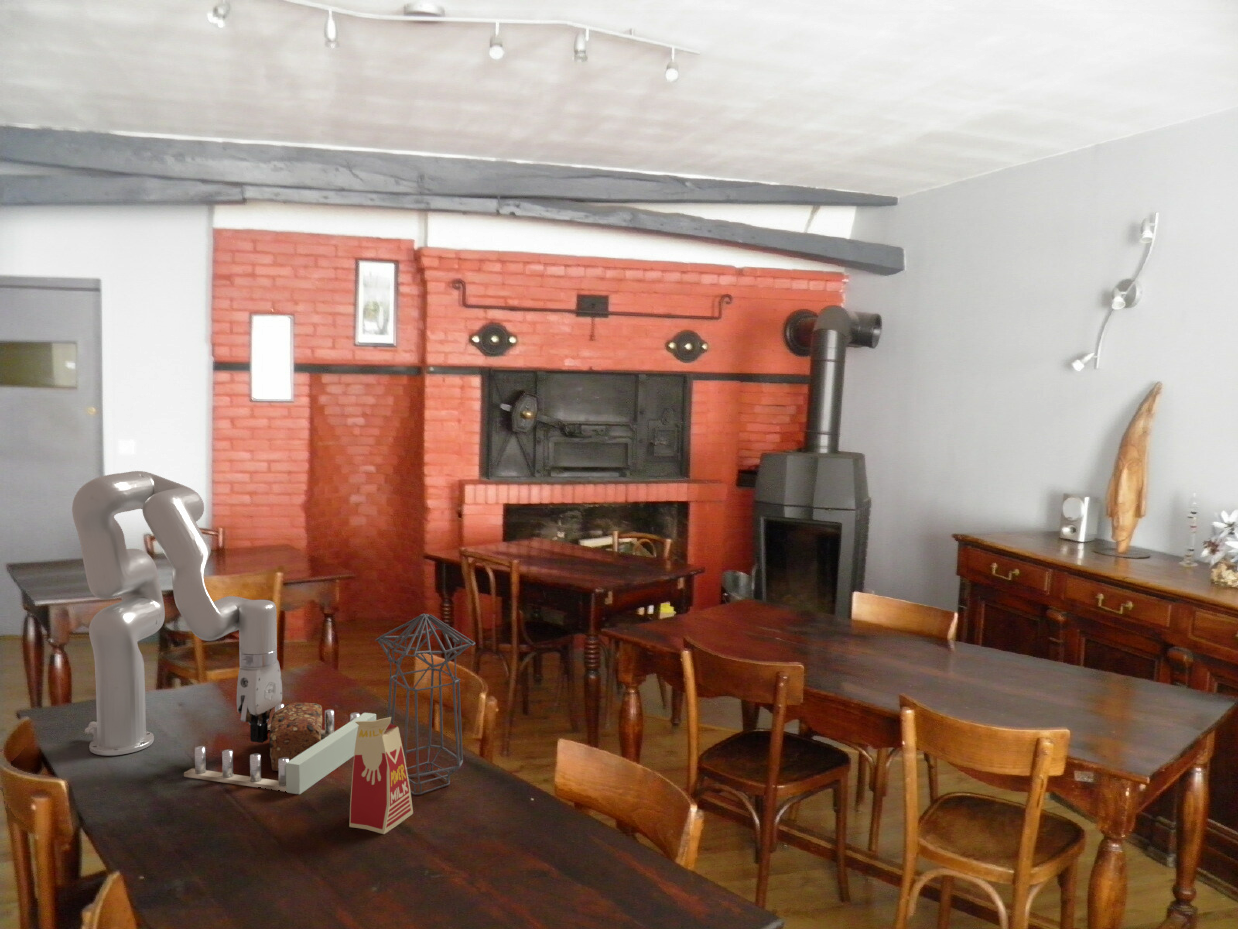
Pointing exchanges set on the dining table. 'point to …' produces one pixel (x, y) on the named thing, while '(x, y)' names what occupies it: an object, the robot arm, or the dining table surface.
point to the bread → (294, 730)
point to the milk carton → (379, 778)
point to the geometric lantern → (450, 633)
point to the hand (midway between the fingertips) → (259, 740)
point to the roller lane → (297, 770)
